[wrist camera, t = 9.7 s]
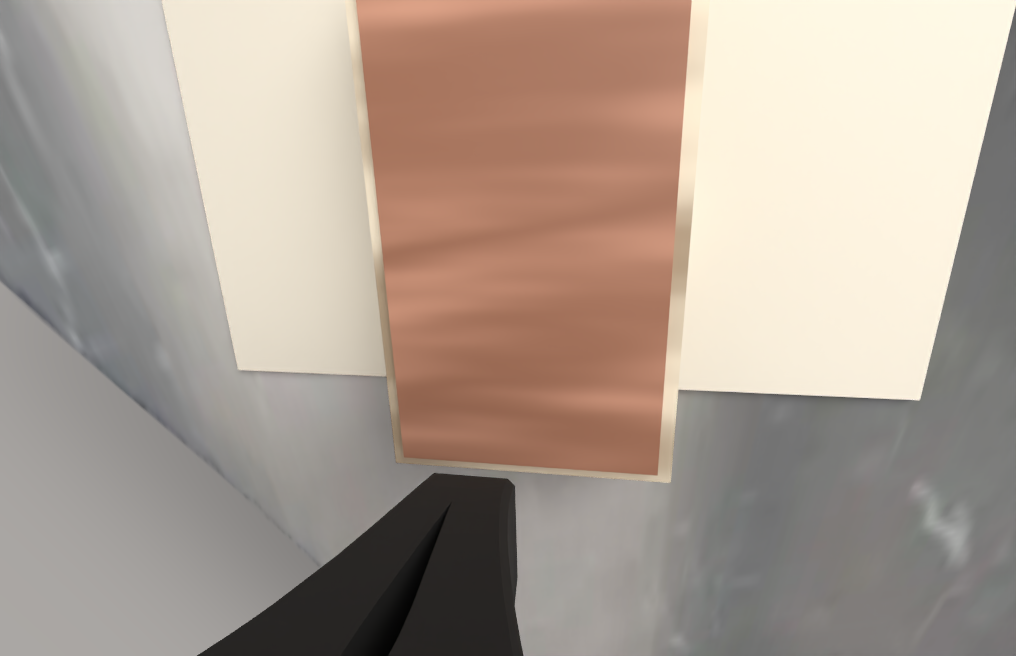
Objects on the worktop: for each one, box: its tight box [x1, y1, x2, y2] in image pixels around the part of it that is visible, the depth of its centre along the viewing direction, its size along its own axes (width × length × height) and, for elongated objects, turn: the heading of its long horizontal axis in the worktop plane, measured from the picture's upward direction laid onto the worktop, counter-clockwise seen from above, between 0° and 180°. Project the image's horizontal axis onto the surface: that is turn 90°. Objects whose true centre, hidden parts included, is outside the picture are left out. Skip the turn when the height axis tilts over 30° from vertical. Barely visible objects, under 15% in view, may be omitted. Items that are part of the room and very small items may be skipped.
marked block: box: [345, 0, 710, 483], centre depth 15 cm, size 4×8×14 cm
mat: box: [162, 0, 1016, 400], centre depth 16 cm, size 16×24×1 cm, turn 92°
